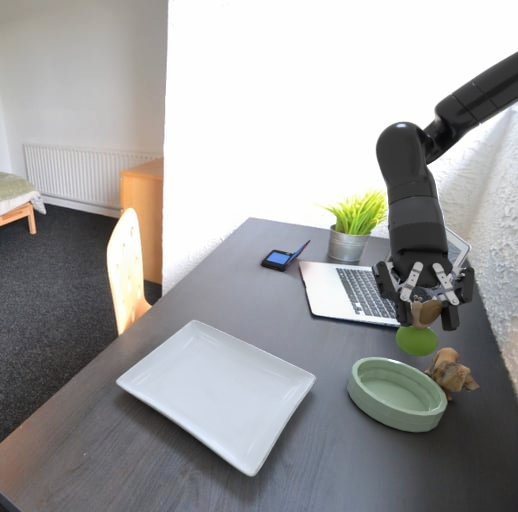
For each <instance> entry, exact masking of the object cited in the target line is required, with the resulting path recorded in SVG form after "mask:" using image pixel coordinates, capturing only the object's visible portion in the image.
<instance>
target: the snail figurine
mask: <svg viewBox="0 0 518 512" xmlns="http://www.w3.org/2000/svg"><path fill="white" fill-rule="evenodd" d="M413 298H414V300H413V302H412V303H411V313H412V321H413V324H412V326H409V327H401V326H400V327H399V328H398V329H397V331H396V333H395V341H396V344H397V346H398V347H399V348H400V350H401V351H403V352H404V353H406V354H408V355H410V356H413V357H427V356H429V355H431V354H433V353H434V352H435V351H436V350H437V348H438V347H439V346H438V345H439V344H438V343H439V340H438V339H439V338H438V336H437V333H436V332H435V331H434V330H433V329H432V328H430V326H432V325H433V324H434V322H435V321H436V320H437V319H438V318H439V317H440V316H441V312H442V304H441V302H439V301H438V300H437V299H434V298H433V299H428V300H426V301H424V302H421V301H423V297H421V296H418V295H417V294H414V295H413ZM416 299H417V300H416Z"/></svg>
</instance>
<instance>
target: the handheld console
mask: <svg viewBox="0 0 518 512" xmlns="http://www.w3.org/2000/svg"><path fill="white" fill-rule="evenodd" d="M310 243H311V239H309V240H307V242H305V243H304V244H303V245H302V246H301V247H300V248H299V249H298V250H297V251H296V252H293V253H292V252H287V251H283V250H280V249H272V250H271V251H270V252H269V253H268V254H266V256H265V257H264V258H263V260H262V261H261V262H260V265H261V266H263V267H267V268H270V269H274V270H278V271H282V272H285V271H287V269H288V267H289V266H290V264H291V263H293V262H294V261H295V260H296V259H297V258H298V257H299V256H300V255H301V254H302V253H303V252H304V250H305V249H306V248H307V247H308V246H309V244H310Z"/></svg>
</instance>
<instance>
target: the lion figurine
mask: <svg viewBox="0 0 518 512" xmlns="http://www.w3.org/2000/svg"><path fill="white" fill-rule="evenodd" d="M459 358H460V355H459V352H457V351H456V350H455V349H454V348H452V347H442V348H441V349H439V350H438V351H437V353H436V354H435V355H434V357H433V358H432V359H431V361H432V362H431V365H429V367H428V368H427V369H426V370H424V371H423V373H424V374H426V375H427V376H429V377H430V378H431V379H432V380H433V381H434V382H436V383H437V384H438V385H439V386H440V388H441V389H442V390H443V392H444V393H445V395H446V399H447V401H452V400H453V398H452V397H451V396H450V394H451V393H460V392H461V391H462V390H463V389H464V390H465V391H466V392H468V393H470V392H472V391H475V390H477V389H479V388H480V385H479V384H478V383H477V382H476V381H475V380H474V377H473V376H472V375H471V373H472V372H471V368H470V367H468V366H464V365H463V364H461V363H459Z"/></svg>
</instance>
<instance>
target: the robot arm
mask: <svg viewBox="0 0 518 512" xmlns="http://www.w3.org/2000/svg"><path fill="white" fill-rule="evenodd" d="M517 103H518V50H517V51H516V52H514V53H512V54H510V55H508V56H507V57H505V58H504V59H502V60H500V61H498V62H496V63H495V64H493V65H492V66H490V67H488V68H486V69H485V70H484V71H482V72H480V73H478V74H477V75H475V76H474V77H473V78H471V79H470V80H468V81H467V82H466V83H464V84H462V85H461V86H459V87H457V89H454V91H452V92H451V93H449V94H448V95H447V96H445V97H444V98H442V99H441V100H439V102H438V103H436V104H435V106H434V108H433V113H434V119H433V120H432V121H431V122H430V123H429V124H428V125H426V127H424V129H422V128H421V127H420V126H419V125H418V124H416V123H414V122H410V121H404V120H403V121H397V122H394V123H392V124H389V126H387V127H386V128H384V129H383V130H382V131H381V133H380V134H379V135H378V138H377V140H376V142H375V156H376V160H377V165H378V168H379V170H380V173H381V176H382V179H383V182H384V184H385V187H386V201H387V202H386V203H387V225H386V227H387V231H388V241H389V249H390V256H391V260H390V261H386V262H385V261H383V260H380V261H378V262H377V263H375V264H373V265H372V266H371V268H370V269H371V272H372V275H373V278H374V281H375V284H376V287H377V288H376V289H377V291H378V294H379V297H380V298H381V299H382V300H388V301H391V302H392V303H393V305H394V312H395V320H396V322H397V324H399V325H400V327H409V326H412V324H413V321H412V313H411V309H412V306H411V305H412V303H411V301H409V299H410V297H411V295H412V291H413V290H414V289H415V288H419V287H420V288H422V289H428V290H429V293H430V294H431V295H432V296H434V297H435V298H436V300H438V301H439V302H441V304H442V312H441V314H440V320H441V329H442V330H443V332H453V331H456V330H457V329H458V328H459V327H460V324H461V322H460V315H459V310H458V307H459V306H462V305H465V304H468V303H471V302H472V301H473V297H474V296H473V294H474V284H475V273H476V270H475V269H474V267H472V266H467V267H460V266H457V265H453V263H452V262H451V261H450V259H449V252H450V251H449V250H450V249H449V242H448V236H447V229H446V224H445V218H444V212H443V209H442V206H441V202H440V198H439V191H438V185H437V181H436V178H435V176H434V174H433V173H432V171H431V170H430V169H429V166H430V165H432V164H434V163H435V162H436V161H437V160H439V159H440V158H441V157H442V156H444V155H445V154H446V153H447V152H449V150H451V148H453V147H454V146H455V145H456V144H457V143H459V142H460V141H461V140H462V139H463V138H464V137H465V136H466V135H467V134H468V133H469V132H470V131H472V130H474V129H476V128H478V127H479V126H481V125H483V124H485V123H486V122H488V121H489V120H492V118H494V117H496V116H497V115H499V114H500V113H503V112H504V111H506V110H507V109H509V108H511V107H512V106H514V105H516V104H517ZM392 272H393V273H394V274H395V275H396V276H397V278H398V281H397V283H396V286H394V283H393V280H392V278H391V274H392ZM449 275H451V280H453V281H454V284H453V285H452V283H451V281H450V279H449V278H448V277H449ZM439 286H440V287H439Z"/></svg>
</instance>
